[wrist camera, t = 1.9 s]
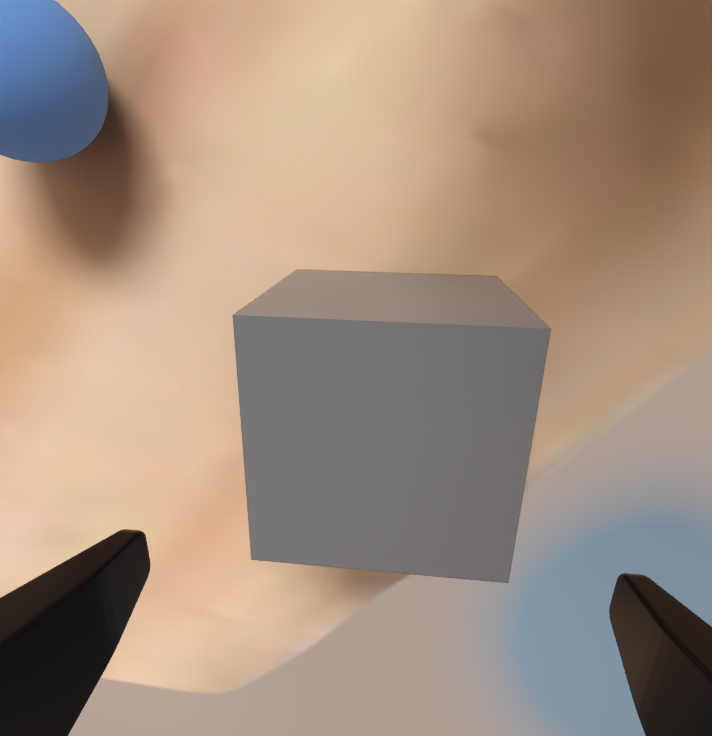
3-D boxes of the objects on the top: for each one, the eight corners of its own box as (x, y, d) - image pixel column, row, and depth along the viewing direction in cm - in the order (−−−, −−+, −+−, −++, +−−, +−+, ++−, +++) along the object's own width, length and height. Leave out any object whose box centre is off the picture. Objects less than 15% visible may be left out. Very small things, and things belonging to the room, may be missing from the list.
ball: (126, 7, 16) (11, -68, 11) (146, 166, 18) (54, 158, 13) (-10, 9, 17) (-174, -62, 12) (23, 165, 18) (-108, 156, 14)
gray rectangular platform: (496, 276, 18) (550, 328, 11) (475, 453, 21) (508, 583, 14) (296, 269, 19) (232, 315, 12) (301, 442, 21) (251, 559, 15)
